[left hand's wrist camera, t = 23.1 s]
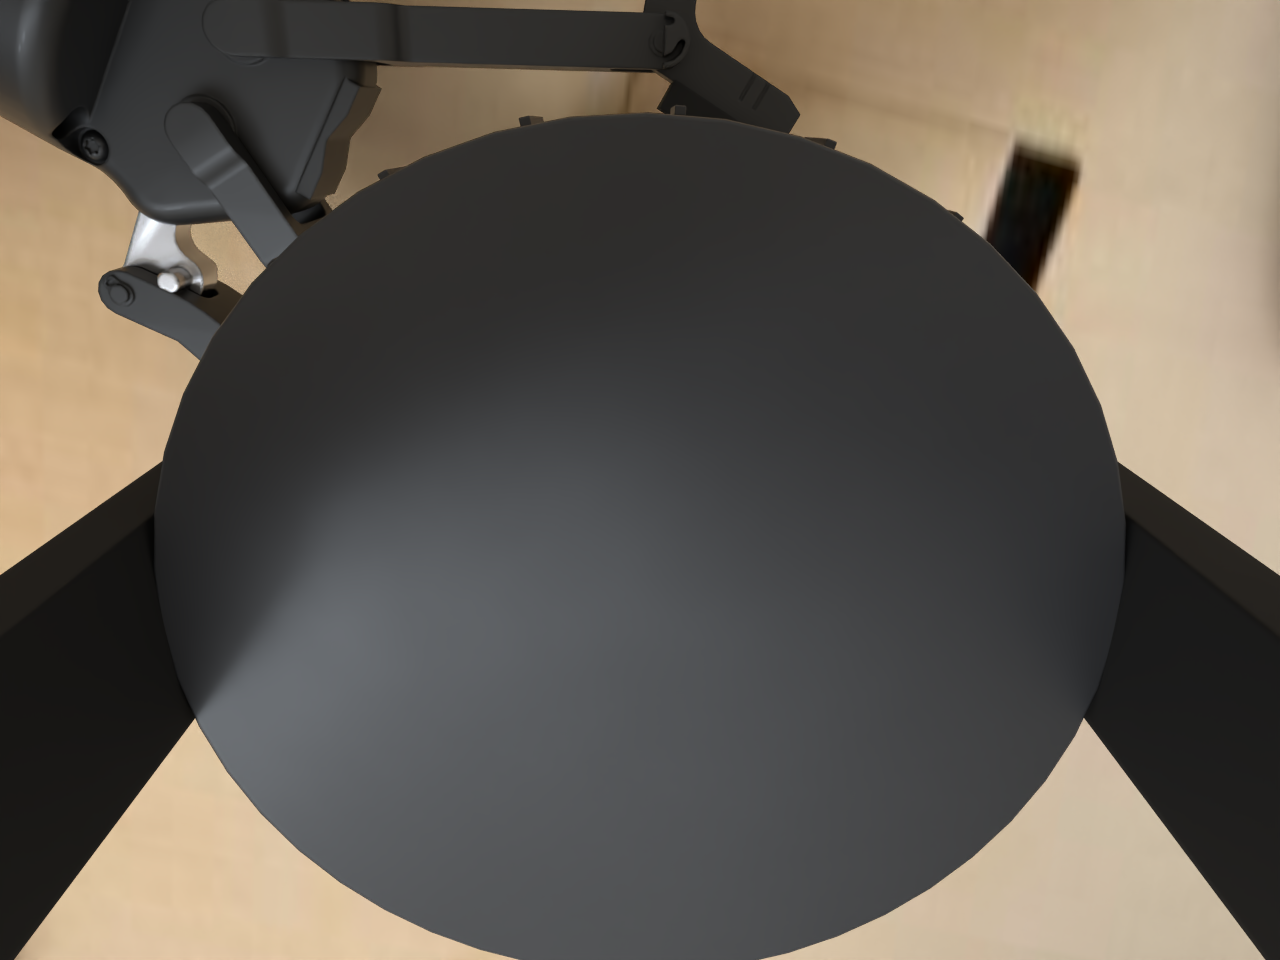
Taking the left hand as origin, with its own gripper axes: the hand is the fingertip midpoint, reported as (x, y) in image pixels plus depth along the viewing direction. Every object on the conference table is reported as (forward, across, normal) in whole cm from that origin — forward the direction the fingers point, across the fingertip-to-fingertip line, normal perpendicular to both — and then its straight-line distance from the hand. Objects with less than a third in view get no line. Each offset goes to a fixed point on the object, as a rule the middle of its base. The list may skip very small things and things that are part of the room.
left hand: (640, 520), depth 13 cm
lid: (-3, 0, 0) cm, 3 cm away
